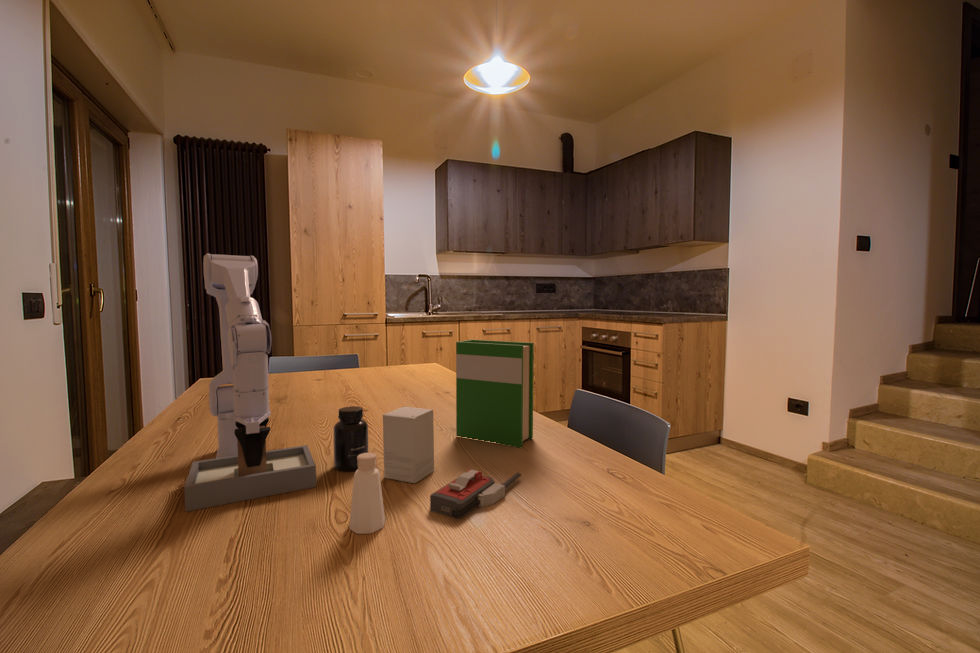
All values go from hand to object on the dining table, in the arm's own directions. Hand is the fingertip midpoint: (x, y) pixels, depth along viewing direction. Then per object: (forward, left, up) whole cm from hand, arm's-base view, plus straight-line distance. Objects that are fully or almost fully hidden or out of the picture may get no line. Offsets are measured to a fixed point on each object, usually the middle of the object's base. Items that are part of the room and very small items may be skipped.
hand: (253, 461), depth 82 cm
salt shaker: (+25, +15, -5) cm, 30 cm away
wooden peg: (0, 0, -3) cm, 3 cm away
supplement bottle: (-1, +18, -5) cm, 19 cm away
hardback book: (-3, +53, -5) cm, 53 cm away
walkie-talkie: (+24, +35, -5) cm, 42 cm away
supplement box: (+9, +27, -5) cm, 29 cm away
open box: (0, 0, -4) cm, 4 cm away
